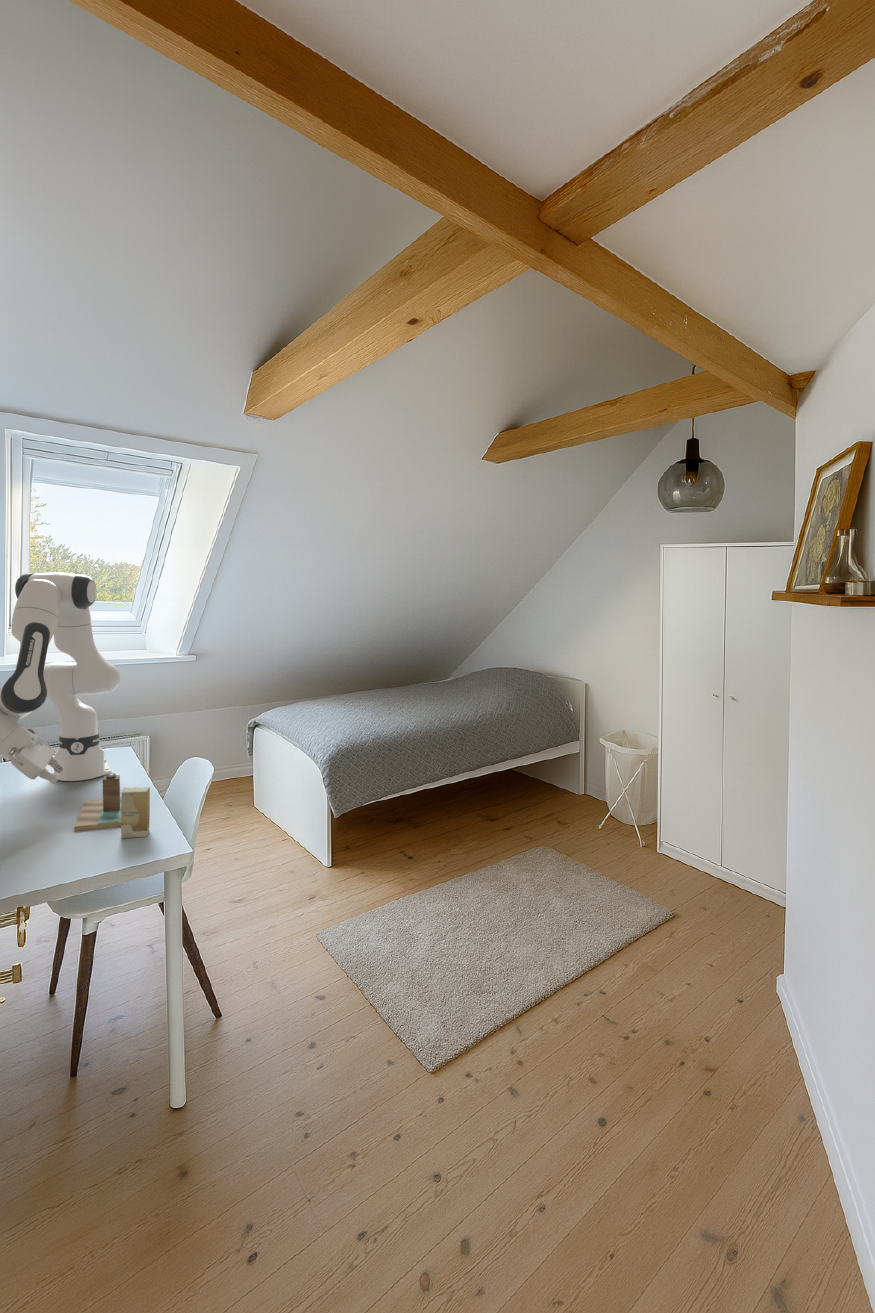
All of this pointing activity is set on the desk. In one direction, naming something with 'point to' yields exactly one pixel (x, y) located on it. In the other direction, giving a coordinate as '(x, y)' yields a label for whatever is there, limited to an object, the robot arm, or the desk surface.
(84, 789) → the desk surface
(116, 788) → the walnut post
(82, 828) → the tan flat board
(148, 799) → the skincare box
